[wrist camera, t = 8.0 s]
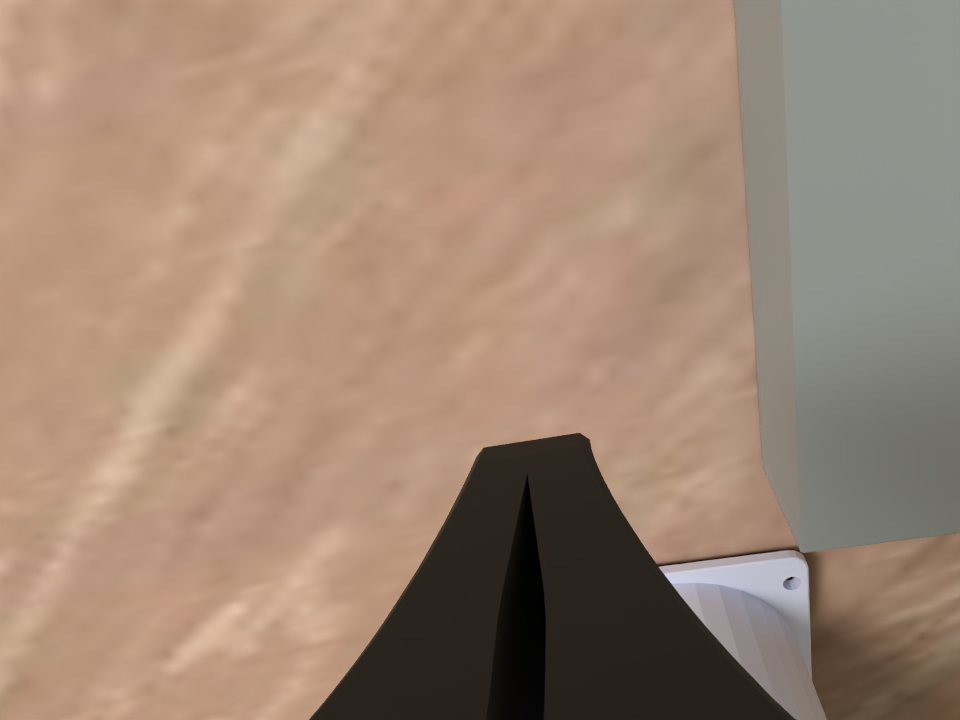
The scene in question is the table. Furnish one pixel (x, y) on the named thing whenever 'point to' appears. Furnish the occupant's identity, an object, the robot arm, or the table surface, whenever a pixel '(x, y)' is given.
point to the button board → (855, 261)
